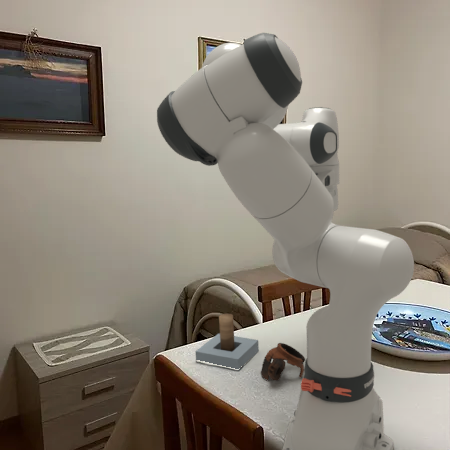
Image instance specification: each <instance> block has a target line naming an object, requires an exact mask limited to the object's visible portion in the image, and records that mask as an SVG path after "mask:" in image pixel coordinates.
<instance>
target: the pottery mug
mask: <svg viewBox="0 0 450 450" xmlns="http://www.w3.org/2000/svg"><path fill="white" fill-rule="evenodd" d="M305 361H306V358H305V356H304V355H303V354H302V353H300V351H298V350H297V349H295V348H294V347H292V346H291V345H289V344H287V343H284V342H283V343H282V342H279V343H277V345H276V347H273V348H271V349H270V350H269V351H267V353H266V355H265V356H264V359H263V361H262V364H261V366H262V367H261V371H260V375H261V376H262V378H263V379H264V378H265V379H267V380H268V379H269V380H270V379H271V380H272V381H278V382H279V381H280V378H281V376H282V374H283V372H284V370H285V368H286V363H287V364H288V365H291V366H294V367H297V368H299V372H300V373H299V374H298V378H300V379H301V378H302V377H303V376H304V367H305ZM265 379H264V380H265ZM267 380H266V381H267ZM269 380H268V381H269Z"/></svg>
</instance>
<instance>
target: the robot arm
mask: <svg viewBox="0 0 450 450" xmlns="http://www.w3.org/2000/svg"><path fill="white" fill-rule="evenodd" d="M302 85H303V79H302V74H301V67H300V64H299V60H298V58H297V56H296V55H295V53H294V51H293V50H292V48H291V47H290V46H289V45H288V44H287V43H285V42H284V41H283V40H281V39H280V38H279V37H278V35H276V34H274V33H269V32H268V33H267V32H261V33H258V34H255V35H253V36H251V37H249V38H246V39H244V41H243V43H238V42H237V43H236V42H225V43H222V44H220V45H218V46H216V47H215V48H213V49H212V50H210V52H209V53H208V54H207V55H206V57H205V59H204V61H203V63H202V66H201V68H199V69H198V70H197V71H195V72H194V74H192V75H191V76H189V77H188V78H187V79H186V80H185V81H184V82H183V83H182V84H181V85H180V86H179V87H178V88H177V89H176V90H173V91H170V92H169V93H168V94H167V95H166V97H164V99H163V100H162V101H161V103H159V105H158V107H157V109H156V122H157V126H158V129H159V132H160V134H161V137H163V139H164V141H165V142H166V144H167V145H168V146H169V147H170V149H172V150H173V151H174V152H175V153H176V154H178V155H179V156H181V157H183V158H185V159H187V160H190V161H193V162H200V163H201V164H203V165H205V166H208V167H210V166H211V167H212V166H216V165H217V166H218V170H219V171H220V174H221V176H222V178H223V179H224V181H225V182H226V184H227V185H228V186H229V188H230V191H231V192H232V193H233V194H234V195H235V197H236V199H237V200H238V201H239V202H240V203H241V204H242V206H243V207H244V208H245V209H246V210H247V212H249V214H250V215H252V217H254V219H255V220H256V221H257V223H259V224H260V225H261V227H262V228H264V230H265V231H266V232H267V233H268V234H269V235H270V236H271V237H272V239H273V240H274V241H273V244H272V255H271V256H272V261H273V263H274V265H275V268H277V270H279V272H281V273H282V274H284V275H286V276H287V277H290V278H292V279H294V280H295V281H296V280H297V281H298V282H301V283H303V284H308V285H313V286H318V287H322V288H326V289H329V292H330V293H329V294H330V297H329V304H328V305H326V306H323V307H321V308H319V309H317V310H315V311H314V312H313V313H312V314H311V315H310V316H309V318H308V320H307V322H306V358H305V361H304V372H303V378H302V380H301V383H300V392H299V396H298V402H297V406H296V410H295V411H294V414H293V415H292V417H290V420H289V423H288V426H287V430H286V435H285V438H284V442H283V446H282V449H281V450H394V448H395V445H394V440H393V439H392V438H391V437H390V436H388V435H387V434H385V430H384V428H385V427H384V408H383V407H384V404H383V399H382V398H381V397H380V395H378V393H377V391H376V390H375V388H374V385H375V384H374V383H375V382H374V381H375V371H374V365H373V362H372V338H373V326H374V323H375V320H376V318H377V315H378V313H379V312H380V310H381V309H382V307H383V306H384V305H385V304H386V303H388V302H389V301H391V299H393V298H395V297H397V296H399V295H400V294H402V292H404V291H405V290H406V289H407V287H408V286H409V284H410V283H411V280H412V278H413V275H414V270H415V262H414V260H415V259H414V256H413V251H412V249H411V248H410V246H409V244H408V243H407V242H406V240H404V238H402V237H398V236H396V235H393V234H391V233H388V232H385V231H381V230H379V229H375V228H374V229H373V228H364V227H356V226H346V225H341V224H337V223H336V224H335V223H334V222H333V218H334V214H335V213H334V212H335V211H337V210H338V209H339V193H338V192H339V191H338V185H340V162H339V156H338V153H339V152H338V151H339V148H340V135H339V134H340V133H339V125H338V118H337V114H336V111H335V109H332V108H329V107H323V106H319V107H316V106H315V107H309V108H307V109H305V110H304V111H303V113H302V120H301V122H291V123H290V122H289V123H281V122H282V121H283V119H284V117H285V116H286V114H287V112H288V109H289V105H290V104H291V103H292V102H293V101H295V100H296V98H297V97H299V95H300V94H301V90H302Z"/></svg>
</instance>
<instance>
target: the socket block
mask: <svg viewBox="0 0 450 450" xmlns="http://www.w3.org/2000/svg"><path fill="white" fill-rule="evenodd" d="M234 344H235V350H234V351H233V352H230V351H225V350H221V344H220V333H217V334H216V335H215V336H213V337H212V338H211V339H209V340H208V341H207V342H205V343H204V344H203V345H202V346H201V347H198V349H197V350H196V351H195V361H196V360H200V361H205V362H209V363H213V364H217V365H222V366H226V367H231V368H235V369H239V368H241V366H243V365H244V364H245V363H246V362H247V361H248V360H249V359H250V358H251V357H252V358H253V357H254V356H255V355H256V354H257V353H259V351H260V350H259V349H260V347H259V339H255V338H248V337H242V336H235V335H234ZM252 358H251V359H252ZM251 359H250V360H251ZM250 360H249V361H250ZM249 361H248V362H249ZM248 362H247V363H248ZM247 363H246V364H247ZM246 364H245V365H246ZM245 365H244V366H245ZM244 366H243V367H244ZM241 369H242V368H241Z"/></svg>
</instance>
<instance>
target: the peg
mask: <svg viewBox="0 0 450 450" xmlns="http://www.w3.org/2000/svg"><path fill="white" fill-rule="evenodd" d="M218 323H219V334H220V344H221V350H225V351H230V352H233V351H234V350H235V344H234V336H235V331H234V330H235V329H234V327H235V325H234V315H233V314H232V313H222V314H219V315H218Z"/></svg>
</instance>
